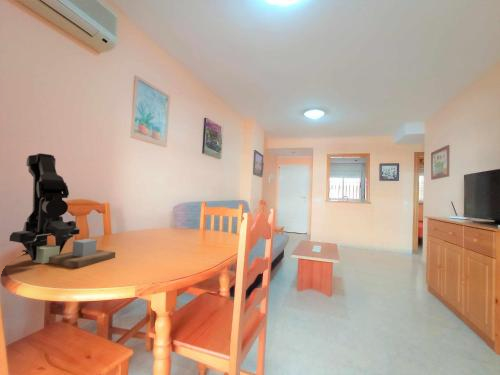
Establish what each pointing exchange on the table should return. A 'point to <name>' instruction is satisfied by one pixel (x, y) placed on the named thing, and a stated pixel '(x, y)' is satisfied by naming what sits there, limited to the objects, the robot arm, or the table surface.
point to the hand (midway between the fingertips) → (46, 257)
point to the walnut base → (81, 259)
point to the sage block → (46, 253)
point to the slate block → (84, 247)
